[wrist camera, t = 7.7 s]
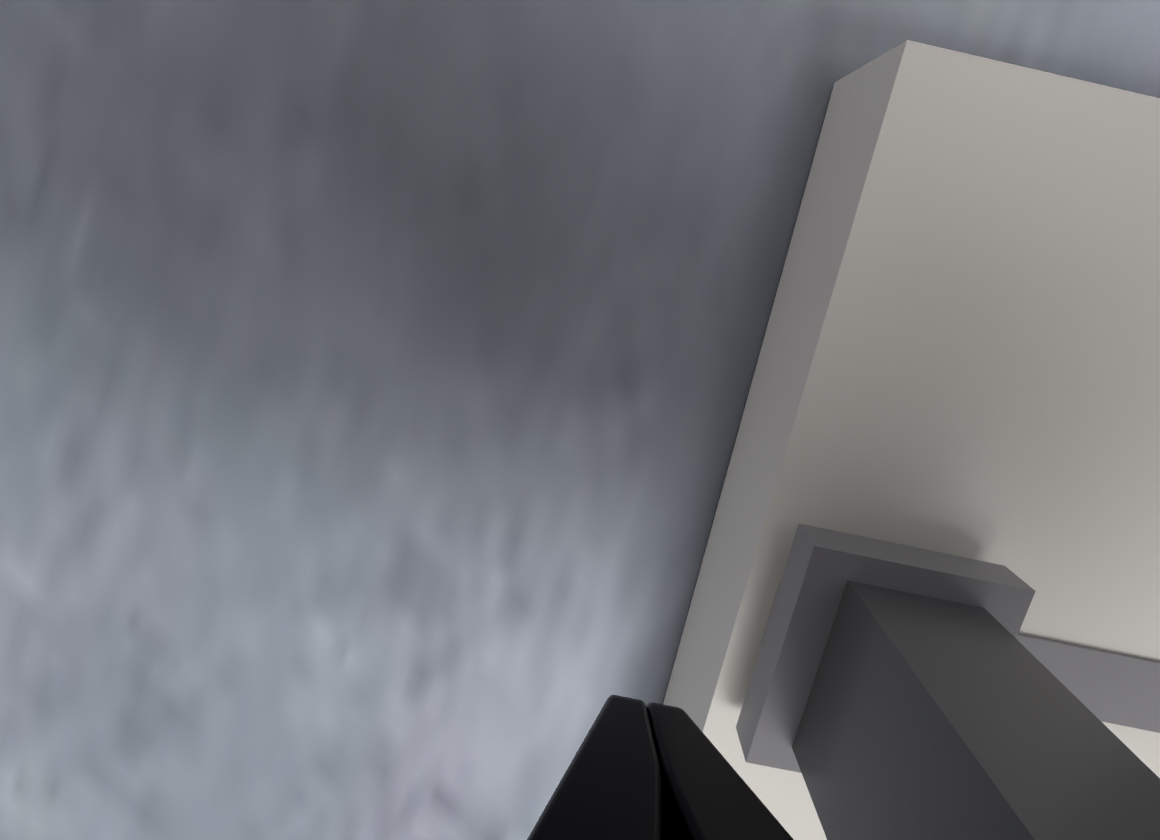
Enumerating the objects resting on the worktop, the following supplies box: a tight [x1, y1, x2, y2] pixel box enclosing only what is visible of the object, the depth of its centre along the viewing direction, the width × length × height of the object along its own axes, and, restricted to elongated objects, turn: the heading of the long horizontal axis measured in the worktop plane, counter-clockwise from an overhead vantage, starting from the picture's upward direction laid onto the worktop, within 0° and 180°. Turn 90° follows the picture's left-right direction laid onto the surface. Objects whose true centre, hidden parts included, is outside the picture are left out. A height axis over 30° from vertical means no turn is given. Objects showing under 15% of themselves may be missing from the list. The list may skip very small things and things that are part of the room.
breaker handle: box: [736, 524, 1160, 840], centre depth 8 cm, size 3×4×7 cm
